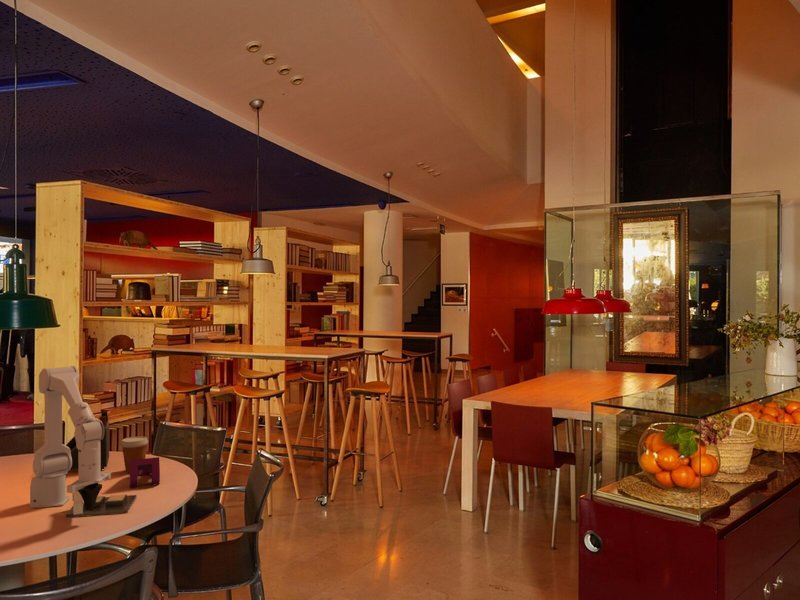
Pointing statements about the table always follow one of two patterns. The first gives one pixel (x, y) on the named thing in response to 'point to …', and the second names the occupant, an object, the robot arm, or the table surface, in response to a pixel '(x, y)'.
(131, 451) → the disposable coffee cup
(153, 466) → the mounting bracket
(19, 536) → the table surface
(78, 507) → the beige rectangular bar
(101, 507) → the tray
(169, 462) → the table surface
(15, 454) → the table surface
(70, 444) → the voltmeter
